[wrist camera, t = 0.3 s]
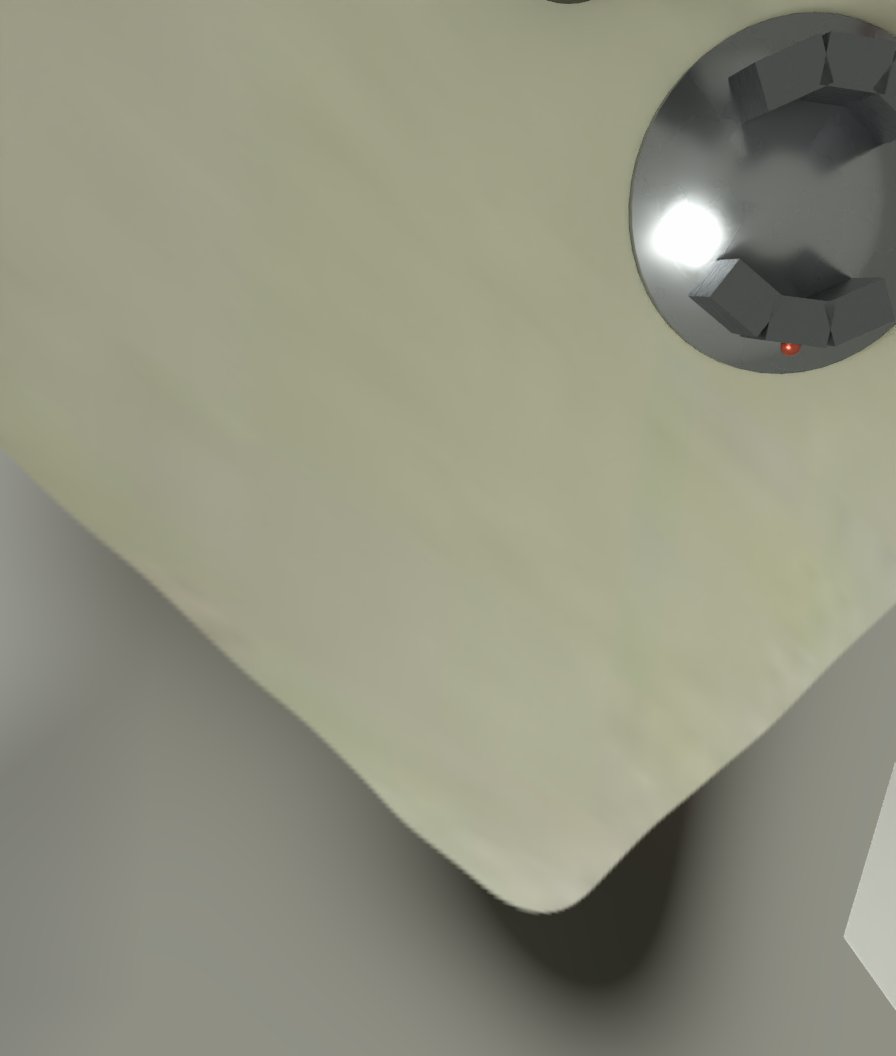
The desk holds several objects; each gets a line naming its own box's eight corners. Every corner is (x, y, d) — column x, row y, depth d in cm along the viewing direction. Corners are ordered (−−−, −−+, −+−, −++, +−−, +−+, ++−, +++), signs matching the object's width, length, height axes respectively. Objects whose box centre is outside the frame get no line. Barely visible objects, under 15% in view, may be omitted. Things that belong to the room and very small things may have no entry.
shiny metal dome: (662, -11, 33) (689, -39, 30) (993, 44, 35) (1049, 23, 32) (603, 354, 37) (622, 359, 34) (904, 388, 38) (947, 397, 36)
